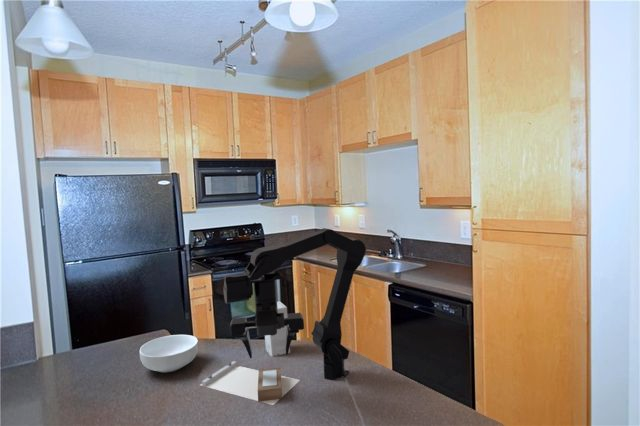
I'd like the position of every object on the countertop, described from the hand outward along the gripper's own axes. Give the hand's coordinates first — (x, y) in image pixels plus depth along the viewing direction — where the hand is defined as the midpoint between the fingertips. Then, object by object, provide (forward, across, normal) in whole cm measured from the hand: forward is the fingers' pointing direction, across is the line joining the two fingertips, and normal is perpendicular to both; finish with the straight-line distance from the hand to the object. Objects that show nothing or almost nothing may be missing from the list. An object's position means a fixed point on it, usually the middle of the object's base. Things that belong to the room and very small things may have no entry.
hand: (269, 356), depth 100 cm
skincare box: (+10, +2, +24) cm, 26 cm away
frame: (+9, 0, 0) cm, 9 cm away
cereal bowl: (+10, -30, +21) cm, 38 cm away
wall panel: (+10, -6, +4) cm, 12 cm away
